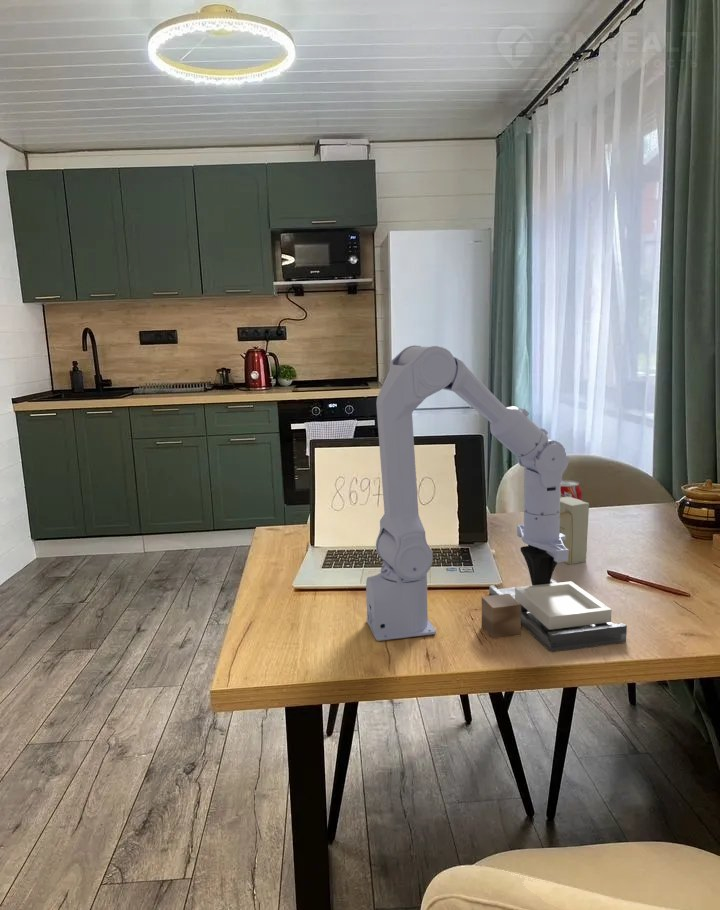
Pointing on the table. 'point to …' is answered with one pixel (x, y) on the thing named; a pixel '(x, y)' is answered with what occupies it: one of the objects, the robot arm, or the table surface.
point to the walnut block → (501, 616)
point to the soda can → (570, 489)
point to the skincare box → (574, 528)
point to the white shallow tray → (562, 605)
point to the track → (568, 630)
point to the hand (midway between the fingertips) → (540, 589)
